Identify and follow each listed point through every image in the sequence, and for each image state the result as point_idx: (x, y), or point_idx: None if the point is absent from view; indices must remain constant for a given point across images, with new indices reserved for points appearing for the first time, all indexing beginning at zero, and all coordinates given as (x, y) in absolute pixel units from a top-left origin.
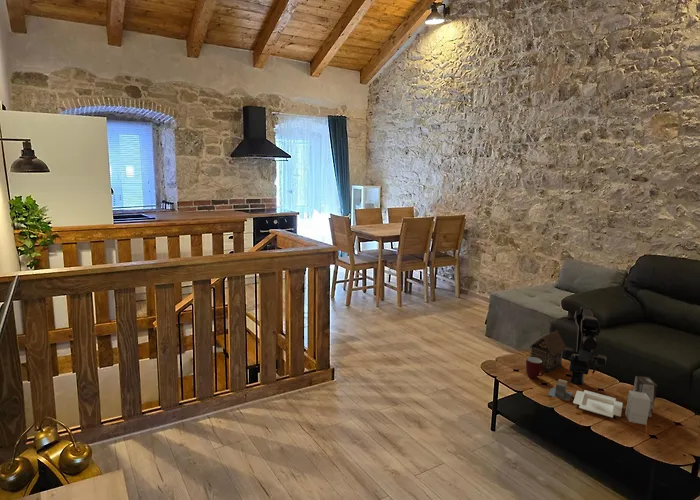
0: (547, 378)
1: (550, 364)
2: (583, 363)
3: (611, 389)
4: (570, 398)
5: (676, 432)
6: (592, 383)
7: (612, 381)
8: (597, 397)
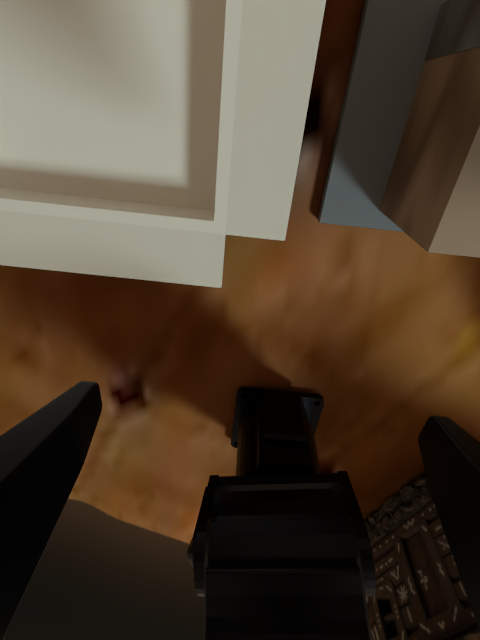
0: (473, 389)
1: None
2: (250, 590)
3: None
4: (353, 68)
5: None
6: (182, 443)
7: (94, 497)
8: (99, 205)
